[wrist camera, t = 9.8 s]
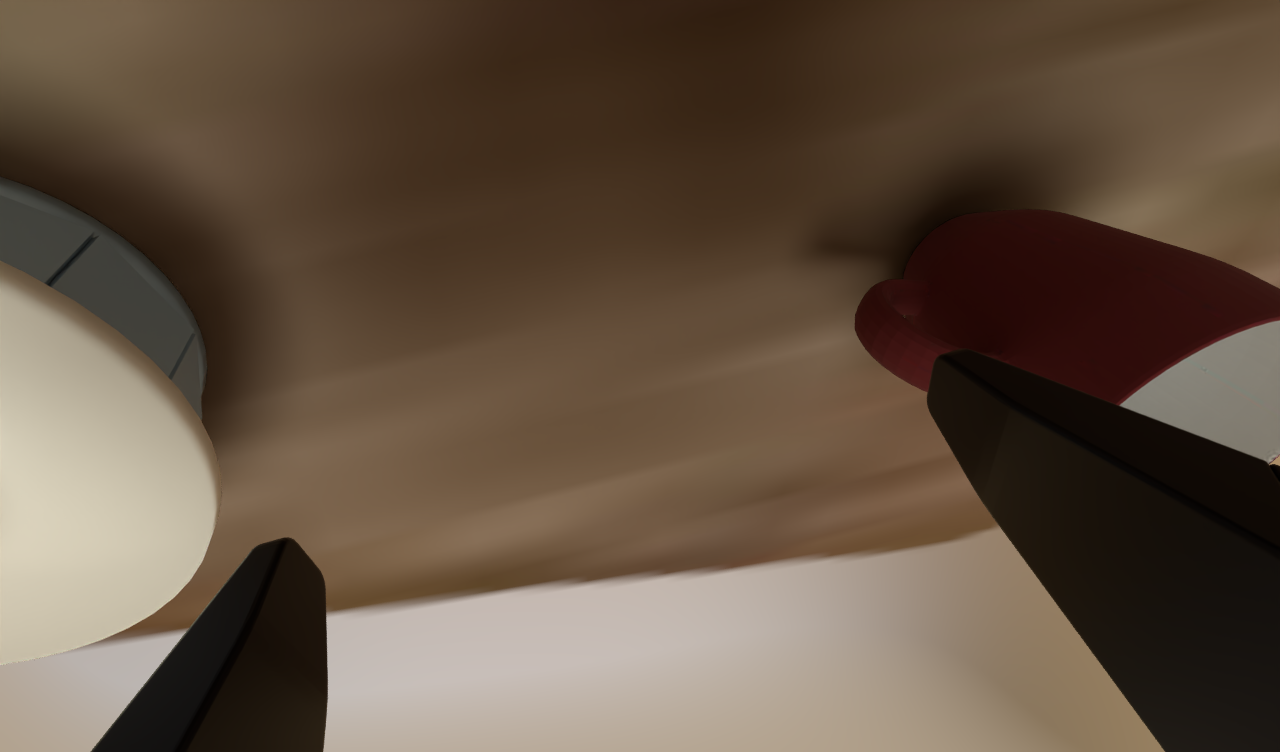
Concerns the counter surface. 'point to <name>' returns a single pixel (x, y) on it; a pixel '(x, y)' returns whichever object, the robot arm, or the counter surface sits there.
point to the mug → (1090, 320)
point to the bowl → (103, 280)
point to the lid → (90, 477)
